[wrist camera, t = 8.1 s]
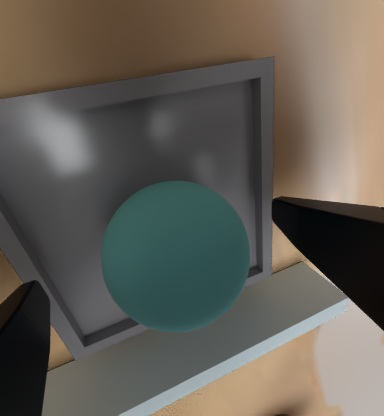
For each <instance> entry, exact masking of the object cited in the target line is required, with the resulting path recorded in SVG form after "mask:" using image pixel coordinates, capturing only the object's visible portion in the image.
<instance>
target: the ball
mask: <svg viewBox="0 0 384 416" xmlns="http://www.w3.org/2000/svg"><path fill="white" fill-rule="evenodd" d="M249 266H250V245H249V239H248V235H247V232H246V229H245V227H244V224H243V222H242V220H241V218H240V216H239V215H238V214H237V212H236V211H235V209H234V208H233V207H232V205H231V204H230V203H229V202H228V201H227V200H225V199H224V198H223V197H222V196H221V195H219V194H218V193H217V192H215V191H213V190H211V189H209V188H207V187H205V186H203V185H200V184H197V183H193V182H188V181H165V182H160V183H156V184H153V185H150V186H147V187H145V188H143V189H141V190H139V191H138V192H136V193H135V194H133V195H132V196H131V197H129V198H128V199H127V200H126V201H125V202H124V203H123V204H122V205H121V206H120V207H119V208H118V210H117V211H116V212H115V214H114V215H113V217H112V218H111V220H110V222H109V224H108V226H107V229H106V232H105V235H104V238H103V242H102V248H101V267H102V273H103V278H104V281H105V284H106V286H107V289H108V291H109V293H110V295H111V296H112V298H113V300H114V301H115V302H116V304H117V305H118V306H119V307H120V309H121V310H122V311H123V312H124V313H126V314H127V315H128V316H129V317H130V318H131V319H133V320H134V321H136V322H138V323H139V324H141V325H143V326H145V327H148V328H150V329H154V330H158V331H162V332H170V333H174V332H188V331H192V330H196V329H199V328H202V327H204V326H206V325H208V324H210V323H212V322H213V321H215V320H217V319H218V318H219V317H221V316H222V315H223V314H224V313H225V312H227V311H228V310H229V308H230V307H231V306H232V305H233V304H234V303H235V301H236V300H237V298H238V297H239V295H240V293H241V291H242V289H243V287H244V285H245V283H246V280H247V276H248V272H249Z"/></svg>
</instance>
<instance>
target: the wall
mask: <svg viewBox="0 0 384 416" xmlns="http://www.w3.org/2000/svg"><path fill="white" fill-rule="evenodd" d="M348 299H349V298H348V297H347V296H346V295H345V294H344V293H343V292H341V291H340V290H339V289H337V288H336V287H335V286H334V285H332V284H331V283H330V282H328V281H327V280H326V279H325V278H323V277H322V276H321V275H319V274H318V273H317V272H316V271H314V270H313V269H312V268H310V267H309V266H308V265H307V264H305V263H304V262H303V261H302V262H300V263H297V264H295V265H293V266H291V267H288V268H286V269H284V270H281V271H279V272H277V273H274V274H272V276H270V277H268V278H266V279H263V280H261V281H259V282H256V283H254V284H252V285H249V286H247V287H245V288H243V289H242V291H241V293H240V295H239V297H238V298H237V300H236V301H235V303H234V304H233V305H232V306H231V307H230V308H229V310H228V311H227V312H225V313H224V314H223V315H222V316H221V317H219V318H218V319H217V320H215V321H213V322H212V323H210V324H208V325H206V326H204V327H202V328H199V329H196V330H192V331H188V332H174V333H170V332H162V331H158V330H154V329H148V330H146V331H144V332H141V333H139V334H137V335H134V336H132V337H130V338H127V339H125V340H123V341H120V342H118V343H116V344H114V345H111V346H109V347H107V348H104V349H102V350H100V351H97V352H95V353H93V354H91V355H88V356H86V357H84V358H81V359H79V360H77V361H76V360H73V361H71V362H69V363H66V364H64V365H62V366H60V367H57V368H55V369H53V370H50V371H48V372H47V378H46V385H45V393H44V401H43V409H42V416H149V415H151V414H153V413H154V412H156V411H158V410H160V409H162V408H164V407H166V406H168V405H170V404H171V403H173V402H175V401H177V400H179V399H181V398H183V397H185V396H187V395H188V394H190V393H192V392H194V391H196V390H198V389H200V388H202V387H204V386H205V385H207V384H209V383H211V382H213V381H215V380H217V379H219V378H221V377H222V376H224V375H226V374H228V373H230V372H232V371H234V370H236V369H238V368H239V367H241V366H243V365H245V364H247V363H249V362H251V361H253V360H255V359H256V358H258V357H260V356H262V355H264V354H266V353H268V352H270V351H272V350H273V349H275V348H277V347H279V346H281V345H283V344H285V343H287V342H289V341H290V340H292V339H294V338H296V337H298V336H300V335H302V334H304V333H306V332H307V331H309V330H311V329H313V328H315V327H317V326H319V325H321V324H323V323H324V322H326V321H328V320H330V319H332V318H334V317H336V316H338V315H340V314H341V313H343V312H345V311H346V307H347V303H348Z"/></svg>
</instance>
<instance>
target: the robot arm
mask: <svg viewBox="0 0 384 416" xmlns="http://www.w3.org/2000/svg"><path fill="white" fill-rule="evenodd" d="M271 216H272V220H273V222H274V223H275V224H276V225H277V226H278V228H279V229H280V230H281V231H282V232H283V233H284V235H285V236H286V237H287V238H288V239H289V240H290V242H291V243H292V244H293V245H294V246H295V247H296V248H297V249H298V250H299V251H300V252H301V253H302V254H303V255H304V256H305V257H306V258H307V259H308V260H309V261H310V262H311V263H313V264H314V265H315V266H316V267H317V268H318V269H319V270H320V271H321V272H322V273H323V274H324V275H325V276H326V277H327V278H328V279H329V280H330V281H332V282H333V283H334V284H335V285H336V286H337V287H338V288H339V289H340V290H341V291H343V293H344V294H345V295H346V296H347V297H348V298H350V299H351V300H352V301H353V302H354V303H355V304H356V305H357V306H358V307H359V308H360V309H361V310H362V311H363V312H364V313H365V314H366V315H367V316H369V317H370V318H371V319H372V320H373V321H374V322H375V323H376V324H377V325H378V326H379V327H380V328H381V329H382V330H383V331H384V207H381V208H380V207H376V206H367V205H358V204H349V203H339V202H330V201H321V200H312V199H302V198H293V197H284V196H281V197H278V198H275V199H273V200H272V211H271ZM49 354H50V299H49V297H48V295H47V294H46V292H45V290H44V289H43V287H42V286H41V284H40V282H39V281H37V280H32V281H29V282H27V283H24V284H22V285H20V286H19V287H18V288H17V289H16V290H15V291H14V292H13V293H12V294H11V295H10V296H9V297H8V298H7V299H5V300H4V301H3V302H2V303H1V304H0V416H42V409H43V401H44V393H45V385H46V378H47V370H48V362H49Z"/></svg>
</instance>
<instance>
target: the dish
mask: <svg viewBox="0 0 384 416" xmlns="http://www.w3.org/2000/svg"><path fill="white" fill-rule="evenodd" d="M273 131H274V56H273V57H267V58H260V59H254V60H248V61H241V62H235V63H228V64H222V65H215V66H209V67H203V68H196V69H190V70H183V71H177V72H171V73H164V74H158V75H151V76H145V77H138V78H132V79H126V80H119V81H113V82H106V83H100V84H93V85H87V86H81V87H74V88H68V89H61V90H55V91H49V92H42V93H36V94H29V95H23V96H16V97H10V98H4V99H0V249H1V250H2V252H3V253H4V255H5V256H6V258H7V259H8V261H9V262H10V264H11V265H12V267H13V268H14V270H15V271H16V273H17V274H18V275H19V277H20V278H21V280H22V281H23V283H27V282H29V281H32V280H37V281H39V282H40V284H41V286H42V287H43V289H44V290H45V292H46V294H47V295H48V297H49V299H50V323H51V325H52V326H53V328H54V329H55V331H56V332H57V333H58V335H59V336H60V338H61V339H62V341H63V342H64V344H65V345H66V347H67V348H68V350H69V351H70V353H71V354H72V356H73V357H74V359H75V360H76V361H77V360H79V359H81V358H84V357H86V356H88V355H91V354H93V353H95V352H97V351H100V350H102V349H104V348H107V347H109V346H111V345H114V344H116V343H118V342H120V341H123V340H125V339H127V338H130V337H132V336H134V335H137V334H139V333H141V332H144V331H146V330H148V329H150V328H148V327H145V326H143V325H141V324H139V323H138V322H136V321H134V320H133V319H131V318H130V317H129V316H128V315H127V314H126V313H124V312H123V311H122V310H121V309H120V307H119V306H118V305H117V304H116V302H115V301H114V300H113V298H112V296H111V295H110V293H109V291H108V289H107V286H106V284H105V281H104V278H103V273H102V267H101V248H102V242H103V238H104V235H105V232H106V229H107V226H108V224H109V222H110V220H111V218H112V217H113V215H114V214H115V212H116V211H117V210H118V208H119V207H120V206H121V205H122V204H123V203H124V202H125V201H126V200H127V199H128V198H129V197H131V196H132V195H133V194H135V193H136V192H138V191H139V190H141V189H143V188H145V187H147V186H150V185H153V184H156V183H160V182H165V181H188V182H193V183H197V184H200V185H203V186H205V187H207V188H209V189H211V190H213V191H215V192H217V193H218V194H219V195H221V196H222V197H223V198H224V199H225V200H227V201H228V202H229V203H230V204H231V205H232V207H233V208H234V209H235V211H236V212H237V214H238V215H239V216H240V218H241V220H242V222H243V224H244V227H245V229H246V232H247V235H248V239H249V245H250V266H249V272H248V276H247V280H246V283H245V285H244V287H243V288H245V287H247V286H249V285H252V284H254V283H256V282H259V281H261V280H263V279H266V278H268V277H270V276H272V216H271V211H272V200H273Z"/></svg>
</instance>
